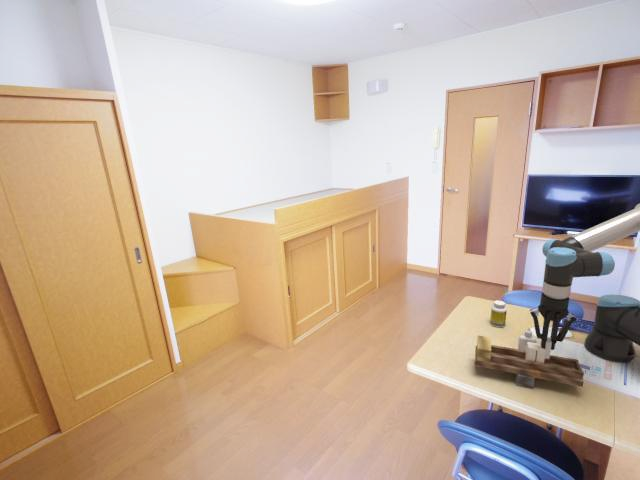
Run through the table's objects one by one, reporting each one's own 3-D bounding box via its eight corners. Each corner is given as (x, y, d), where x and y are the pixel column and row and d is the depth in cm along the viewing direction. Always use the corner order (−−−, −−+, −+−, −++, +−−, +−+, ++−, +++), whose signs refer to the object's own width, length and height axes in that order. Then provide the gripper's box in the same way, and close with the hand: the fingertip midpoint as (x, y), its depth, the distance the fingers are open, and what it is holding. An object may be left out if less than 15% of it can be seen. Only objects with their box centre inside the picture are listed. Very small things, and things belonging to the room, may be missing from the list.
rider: (541, 361, 119) (543, 344, 117) (543, 368, 115) (545, 350, 113) (525, 358, 121) (527, 341, 119) (526, 365, 117) (528, 348, 115)
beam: (572, 376, 120) (577, 349, 117) (581, 399, 109) (587, 370, 106) (474, 357, 133) (476, 333, 130) (474, 376, 122) (476, 350, 119)
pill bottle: (506, 328, 151) (508, 306, 148) (491, 326, 153) (493, 305, 150) (503, 321, 157) (505, 300, 154) (488, 320, 159) (490, 299, 156)
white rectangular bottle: (531, 360, 129) (534, 332, 126) (515, 353, 134) (518, 327, 130) (535, 355, 132) (539, 328, 129) (520, 349, 136) (523, 323, 133)
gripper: (576, 292, 110) (566, 354, 116) (530, 287, 115) (523, 346, 122) (582, 302, 103) (571, 367, 110) (533, 296, 109) (525, 358, 115)
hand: (546, 356), depth 116 cm, fingers closed
